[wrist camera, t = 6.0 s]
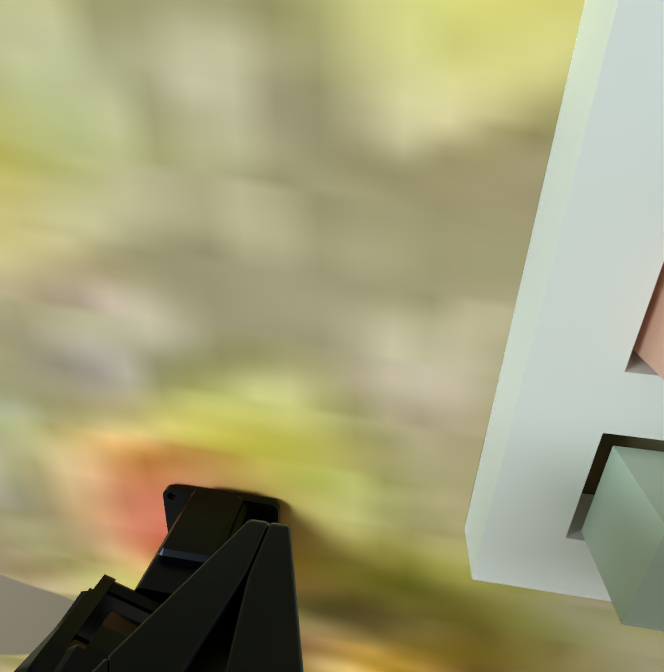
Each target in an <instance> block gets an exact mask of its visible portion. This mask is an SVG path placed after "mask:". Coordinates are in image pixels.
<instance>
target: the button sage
mask: <svg viewBox="0 0 664 672" xmlns="http://www.w3.org/2000/svg"><path fill="white" fill-rule="evenodd" d="M581 532H582V534H583V537H584V539H585V541H586V543H587V546H588V548H589V550H590V553H591V555H592V557H593V560H594V562H595V564H596V566H597V569H598V571H599V573H600V576H601V578H602V580H603V583H604V585H605V587H606V589H607V592H608V594H609V596H610V599H611V601H612V603H613V605H614V608H615V610H616V612H617V615H618V617H619V619H620V622H621V624H624V625H631V626H637V627H643V628H649V629H655V630H661V631H664V452H660V451H652V450H644V449H636V448H628V447H620V446H613V447H612V450H611V452H610V455H609V458H608V460H607V463H606V466H605V468H604V471H603V474H602V476H601V479H600V482H599V485H598V487H597V490H596V493H595V495H594V498H593V501H592V503H591V506H590V509H589V512H588V514H587V517H586V520H585V522H584V525H583V528H582V530H581Z"/></svg>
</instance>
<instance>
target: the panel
mask: <svg viewBox="0 0 664 672" xmlns="http://www.w3.org/2000/svg"><path fill="white" fill-rule="evenodd" d="M663 262H664V0H585V3H584V7H583V12H582V16H581V20H580V25H579V29H578V34H577V38H576V42H575V47H574V51H573V55H572V60H571V64H570V69H569V73H568V77H567V82H566V86H565V91H564V95H563V99H562V104H561V108H560V112H559V117H558V121H557V126H556V130H555V134H554V139H553V143H552V148H551V152H550V156H549V161H548V165H547V169H546V174H545V178H544V183H543V187H542V191H541V196H540V200H539V205H538V209H537V213H536V218H535V222H534V226H533V231H532V235H531V240H530V244H529V248H528V253H527V257H526V262H525V266H524V270H523V275H522V279H521V283H520V288H519V292H518V297H517V301H516V305H515V310H514V314H513V319H512V323H511V327H510V332H509V336H508V340H507V345H506V349H505V354H504V358H503V362H502V367H501V371H500V376H499V380H498V384H497V389H496V393H495V397H494V402H493V406H492V411H491V415H490V419H489V424H488V428H487V433H486V437H485V441H484V446H483V450H482V454H481V459H480V463H479V468H478V472H477V476H476V481H475V485H474V490H473V494H472V498H471V503H470V507H469V511H468V516H467V520H466V525H465V534H466V541H467V548H468V555H469V562H470V569H471V576H472V579H473V580H480V581H486V582H492V583H498V584H505V585H511V586H517V587H523V588H529V589H536V590H542V591H548V592H554V593H560V594H567V595H573V596H579V597H585V598H592V599H598V600H604V601H610V602H612V601H611V599H610V596H609V594H608V592H607V589H606V587H605V585H604V583H603V580H602V578H601V576H600V573H599V571H598V569H597V566H596V564H595V562H594V560H593V557H592V555H591V553H590V550H589V548H588V546H587V543H586V541H585V539H584V537H583V534H582V532H581V530H582V528H583V525H584V522H585V520H586V517H587V514H588V512H589V509H590V506H591V503H592V501H593V498H594V495H591V494H584V493H582V490H583V488H584V485H585V482H586V479H587V476H588V473H589V471H590V468H591V465H592V462H593V459H594V457H595V454H596V451H597V448H598V445H599V442H600V440H601V437H602V434H603V433H607V434H615V435H624V436H632V437H640V438H648V439H656V440H664V380H663V379H662V378H661V377H660V376H659V375H658V374H657V373H656V372H655V371H654V370H653V369H652V368H651V367H650V366H649V365H648V364H647V363H646V362H645V361H644V360H643V359H642V358H641V357H640V356H639V355H638V354H637V353H636V352H635V351H634V350H633V347H634V344H635V341H636V338H637V335H638V333H639V330H640V327H641V324H642V321H643V318H644V316H645V313H646V310H647V307H648V304H649V302H650V299H651V296H652V293H653V290H654V287H655V285H656V282H657V279H658V276H659V273H660V271H661V268H662V265H663Z"/></svg>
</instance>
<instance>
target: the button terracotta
mask: <svg viewBox="0 0 664 672" xmlns="http://www.w3.org/2000/svg"><path fill="white" fill-rule="evenodd" d="M633 350H634V351H635V352H636V353H637V354H638V355H639V356H640V357H641V358H642V359H643V360H644V361H645V362H646V363H647V364H648V365H649V366H650V367H651V368H652V369H653V370H654V371H655V372H656V373H657V374H658V375H659V376H660V377H661V378H662V379H663V380H664V262H663V265H662V268H661V271H660V273H659V276H658V279H657V282H656V285H655V287H654V290H653V293H652V296H651V299H650V302H649V304H648V307H647V310H646V313H645V316H644V318H643V321H642V324H641V327H640V330H639V333H638V335H637V338H636V341H635V344H634V347H633Z"/></svg>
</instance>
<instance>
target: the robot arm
mask: <svg viewBox="0 0 664 672" xmlns="http://www.w3.org/2000/svg"><path fill="white" fill-rule="evenodd" d="M172 493H173V494H172ZM163 499H164V506H165V514H166V521H167V529H168V534H167V536H166V538H165V539H164V541H163V543H162V544H161V546H160V548H159V550H158V551H157V553H156V555H155V556H154V558H153V560H152V561H151V563H150V565H149V567H148V568H147V570H146V572H145V573H144V575H143V577H142V578H141V580H140V582H139V583H138V585H137V587H136V589H135V590H132V589H130V588H128V587H126V586H123V585H121V584H119V583H117V582H115V580H116V579H114V578H112V577H110V576H107V575H104V576H103V577H102V579H101V580H100V581H99V583H98V584H97V585H96V586H95V588H94V589H91V588H90V589H89V590H88V591H82V592H81V593H80V594H79V596H78V597H77V599H76V600H75V602H74V603H73V604H72V606H71V607H70V609H69V610H68V612H67V613H66V614H65V616H64V617H63V619H62V620H61V621H60V622H59V624H58V625H57V626H56V627H55V629H54V630H53V631H52V632H51V633H50V634H49V635H48V636H47V637H46V639H44V640H43V642H41V644H40V645H39V646H38V647H37V648H36V649H35V650H34V651H33V652H32V653H31V654H30V655H29V656H28V657H27V658H26V659H25V660H24V661H23V662H22V663H21V665H20V666H19V667H18V668H17V669H16V670H15V671H14V672H304V671H303V660H302V649H301V639H300V628H299V617H298V606H297V595H296V585H295V574H294V563H293V552H292V541H291V531H290V527H289V525H285V524H280V504H279V503H278V502H277V501H276V500H273V499H269V498H262V497H255V496H248V495H242V494H235V493H228V492H221V491H215V490H208V489H201V488H195V487H188V486H181V485H174V484H171V485H169V486H168V487H167V488H166V489H165V491H164V492H163ZM269 508H271V509H272V510H271V509H269Z"/></svg>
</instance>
